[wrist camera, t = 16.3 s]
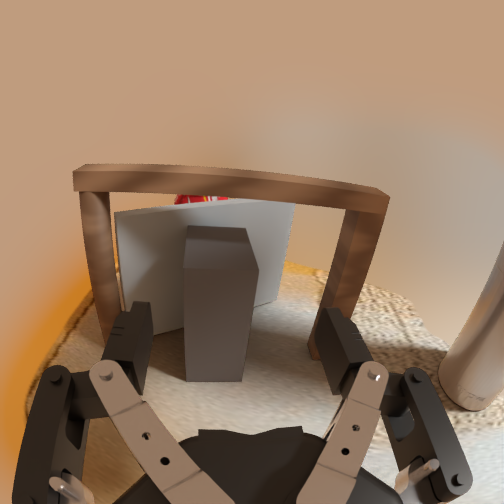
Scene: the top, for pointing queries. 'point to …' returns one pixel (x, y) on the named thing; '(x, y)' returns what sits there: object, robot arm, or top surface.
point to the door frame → (234, 186)
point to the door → (173, 250)
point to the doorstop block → (217, 302)
